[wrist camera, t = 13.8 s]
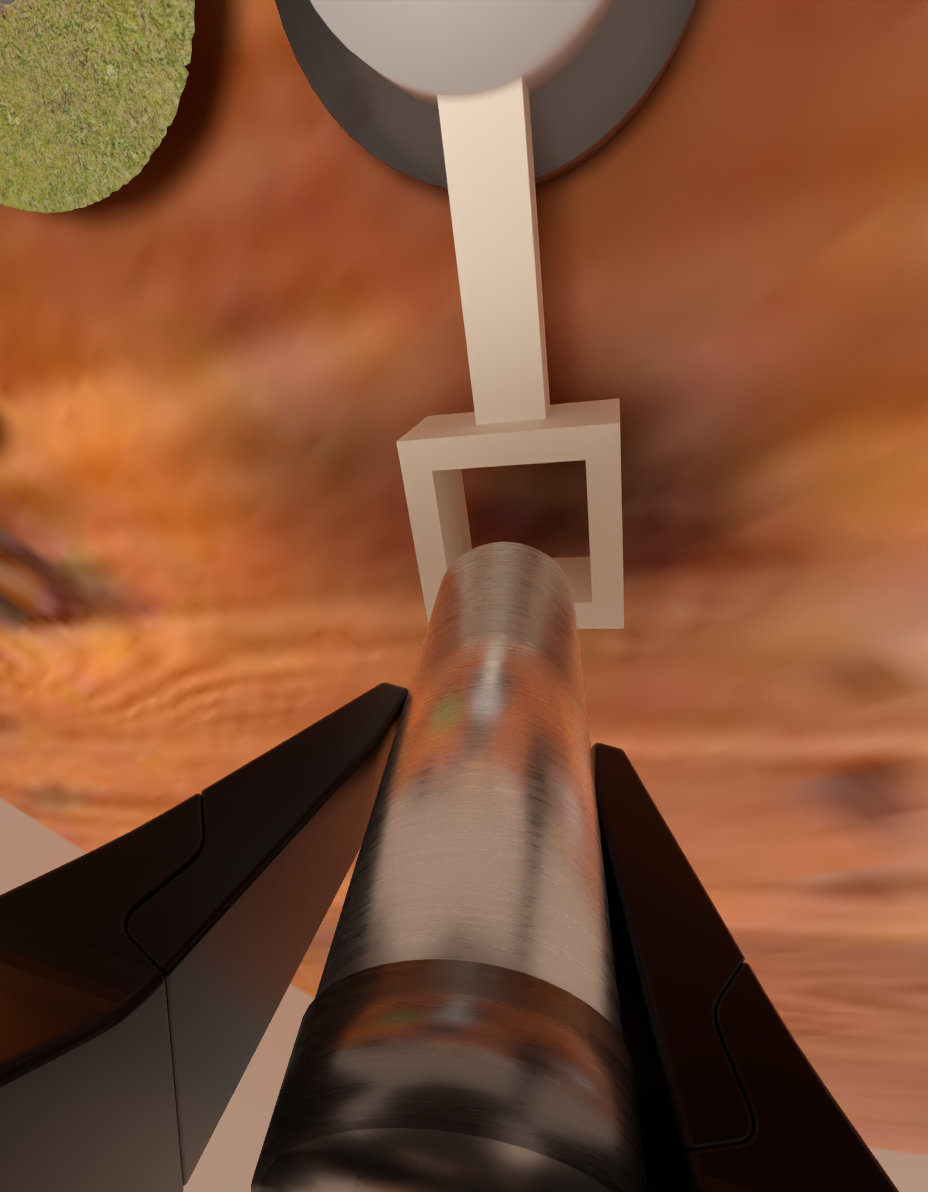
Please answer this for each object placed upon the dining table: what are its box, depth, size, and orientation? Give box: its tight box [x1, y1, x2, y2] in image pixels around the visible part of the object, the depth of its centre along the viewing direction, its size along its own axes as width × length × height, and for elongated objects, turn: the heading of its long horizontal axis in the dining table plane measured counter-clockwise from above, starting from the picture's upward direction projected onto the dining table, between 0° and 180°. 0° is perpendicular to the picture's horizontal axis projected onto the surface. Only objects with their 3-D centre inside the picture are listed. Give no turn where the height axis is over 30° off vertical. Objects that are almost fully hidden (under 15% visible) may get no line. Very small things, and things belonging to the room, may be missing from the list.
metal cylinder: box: [251, 542, 648, 1192], centre depth 8 cm, size 3×3×9 cm
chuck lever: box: [310, 0, 624, 629], centre depth 15 cm, size 19×7×3 cm, turn 7°
